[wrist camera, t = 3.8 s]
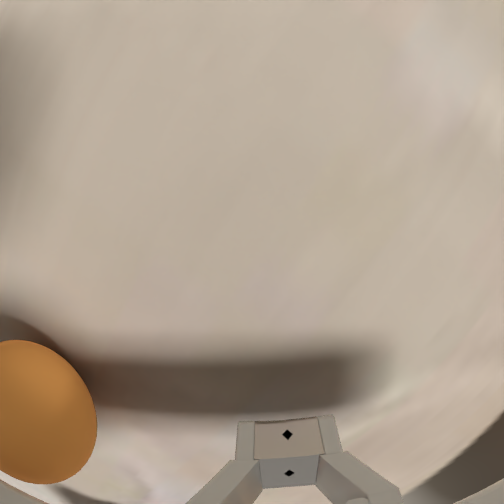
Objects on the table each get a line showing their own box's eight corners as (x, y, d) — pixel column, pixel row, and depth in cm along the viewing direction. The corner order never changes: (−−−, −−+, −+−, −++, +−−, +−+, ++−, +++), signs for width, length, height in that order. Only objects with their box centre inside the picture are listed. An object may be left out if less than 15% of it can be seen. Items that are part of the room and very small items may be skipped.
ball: (-3, 311, 11) (-84, 377, 5) (90, 315, 10) (-3, 422, 5) (41, 408, 12) (-8, 482, 6) (134, 426, 12) (94, 528, 6)
